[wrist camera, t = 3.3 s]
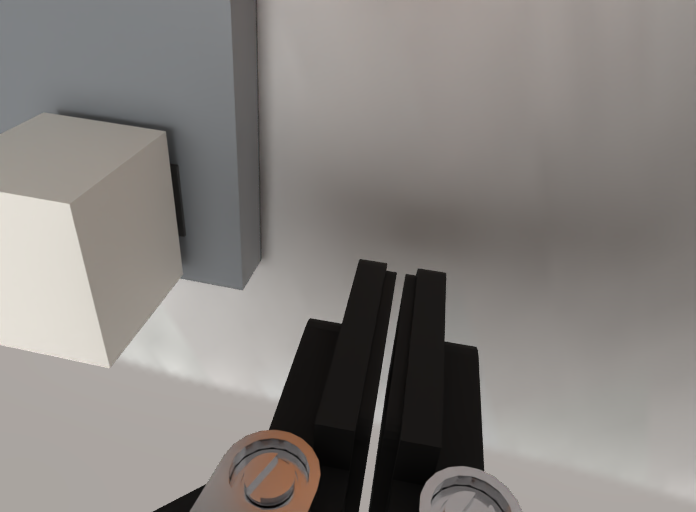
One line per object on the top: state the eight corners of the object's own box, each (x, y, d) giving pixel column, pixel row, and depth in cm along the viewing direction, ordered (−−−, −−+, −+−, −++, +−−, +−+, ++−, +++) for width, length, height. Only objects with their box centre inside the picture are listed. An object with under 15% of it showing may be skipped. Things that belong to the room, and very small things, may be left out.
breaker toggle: (165, 131, 12) (69, 204, 9) (183, 274, 14) (109, 368, 11) (43, 112, 12) (-86, 176, 10) (79, 254, 15) (-16, 341, 12)
